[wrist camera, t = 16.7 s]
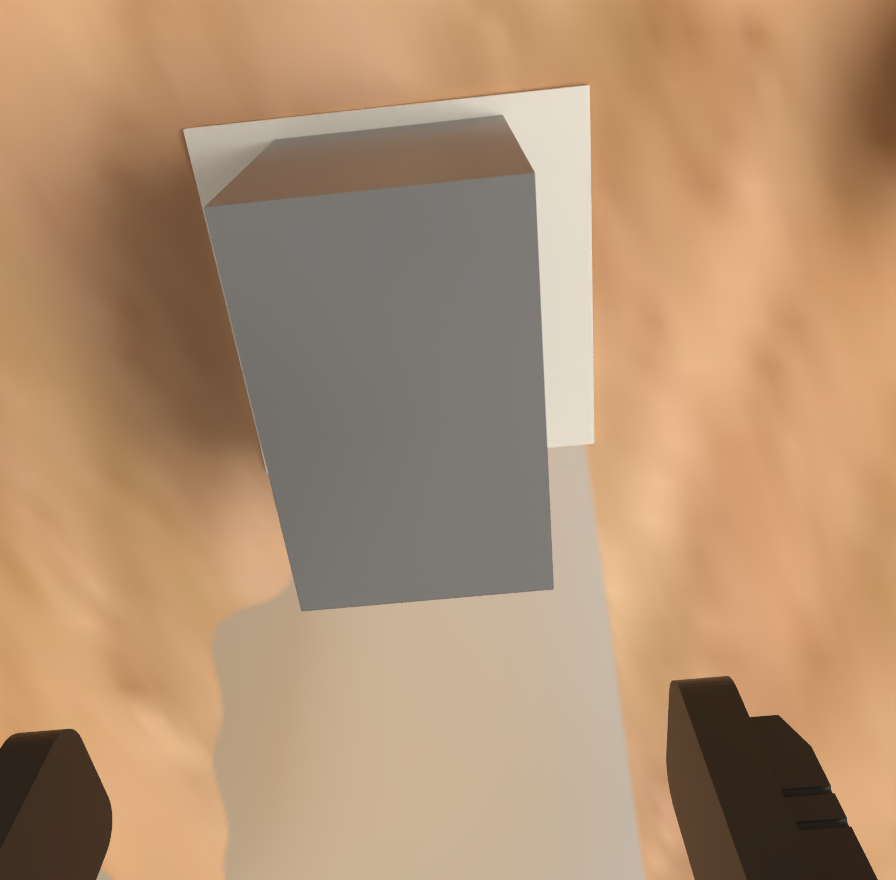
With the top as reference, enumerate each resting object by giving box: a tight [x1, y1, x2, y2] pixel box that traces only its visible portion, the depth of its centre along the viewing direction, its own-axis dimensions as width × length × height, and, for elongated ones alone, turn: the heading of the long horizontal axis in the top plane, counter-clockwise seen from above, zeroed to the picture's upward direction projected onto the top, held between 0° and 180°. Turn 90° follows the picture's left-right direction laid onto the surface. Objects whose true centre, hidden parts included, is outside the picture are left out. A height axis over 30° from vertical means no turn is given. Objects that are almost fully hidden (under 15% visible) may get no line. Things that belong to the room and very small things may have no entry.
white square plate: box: [183, 85, 594, 474], centre depth 27 cm, size 12×12×1 cm
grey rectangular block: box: [204, 115, 554, 611], centre depth 23 cm, size 11×7×9 cm, turn 6°
